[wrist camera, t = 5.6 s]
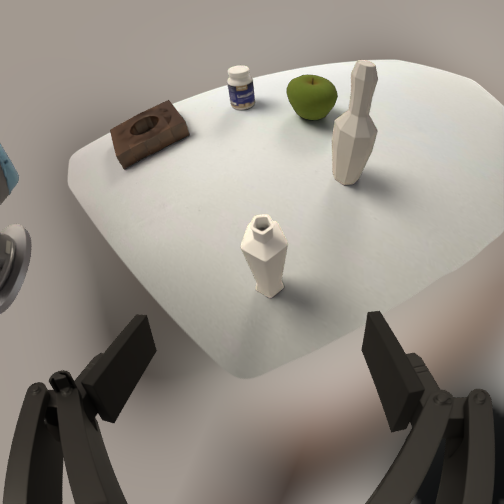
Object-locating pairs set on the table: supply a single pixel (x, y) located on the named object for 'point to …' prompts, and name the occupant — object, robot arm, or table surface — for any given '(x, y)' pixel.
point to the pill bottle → (240, 87)
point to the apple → (311, 96)
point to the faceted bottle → (355, 126)
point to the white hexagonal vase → (265, 253)
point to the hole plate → (148, 133)
